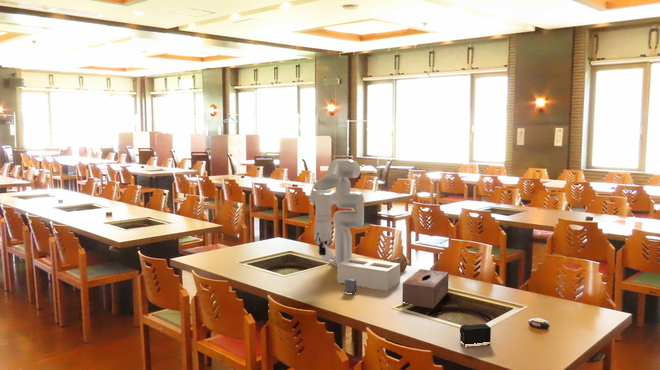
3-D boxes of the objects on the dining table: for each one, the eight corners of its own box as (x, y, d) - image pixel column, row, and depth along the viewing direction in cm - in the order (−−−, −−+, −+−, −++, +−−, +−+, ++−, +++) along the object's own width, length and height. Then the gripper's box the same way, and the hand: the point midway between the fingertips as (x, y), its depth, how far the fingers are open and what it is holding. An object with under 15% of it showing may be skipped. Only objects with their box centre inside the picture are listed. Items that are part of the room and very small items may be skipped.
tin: (393, 276, 298) (393, 261, 297) (388, 275, 300) (388, 260, 299) (407, 270, 310) (407, 255, 309) (402, 269, 312) (402, 254, 311)
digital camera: (483, 339, 215) (484, 322, 214) (490, 345, 209) (491, 327, 208) (458, 342, 213) (459, 324, 212) (464, 347, 207) (465, 329, 206)
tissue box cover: (433, 308, 249) (433, 287, 248) (402, 304, 256) (402, 283, 254) (448, 292, 272) (448, 272, 271) (419, 288, 278) (419, 268, 277)
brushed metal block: (344, 293, 271) (344, 279, 270) (347, 292, 273) (347, 278, 272) (353, 295, 268) (353, 281, 267) (356, 293, 270) (356, 279, 269)
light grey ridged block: (324, 261, 275) (316, 250, 276) (327, 260, 277) (319, 249, 278) (331, 256, 272) (323, 244, 274) (333, 255, 274) (325, 243, 276)
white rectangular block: (337, 282, 288) (337, 263, 286) (352, 274, 301) (351, 256, 300) (387, 291, 274) (387, 271, 272) (400, 282, 287) (400, 263, 286)
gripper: (325, 214, 282) (325, 249, 284) (308, 219, 268) (308, 257, 271) (337, 215, 278) (338, 251, 281) (321, 221, 265) (322, 259, 267)
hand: (323, 254), depth 276 cm, fingers closed on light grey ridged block, 2 cm apart
